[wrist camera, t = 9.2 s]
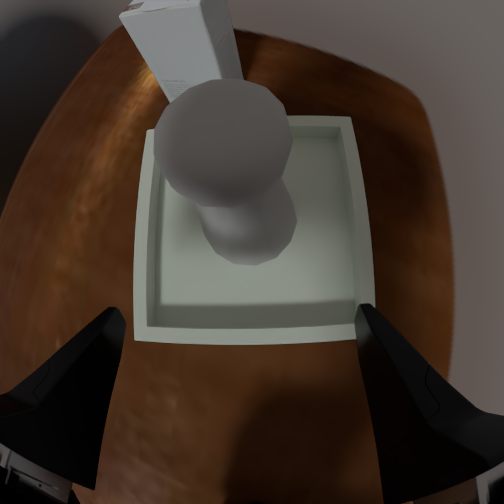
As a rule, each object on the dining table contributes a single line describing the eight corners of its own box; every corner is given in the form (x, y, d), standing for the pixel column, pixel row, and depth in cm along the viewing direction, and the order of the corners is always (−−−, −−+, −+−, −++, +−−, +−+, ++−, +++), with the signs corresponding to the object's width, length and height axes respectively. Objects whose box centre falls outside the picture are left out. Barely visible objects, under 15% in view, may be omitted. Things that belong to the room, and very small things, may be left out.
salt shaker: (275, 178, 20) (273, 35, 8) (306, 250, 19) (361, 166, 7) (200, 207, 20) (112, 95, 8) (226, 281, 19) (142, 249, 7)
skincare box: (245, 82, 23) (228, -26, 11) (232, 117, 23) (203, 3, 11) (185, 78, 24) (147, -16, 12) (168, 111, 23) (115, 15, 11)
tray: (364, 332, 19) (375, 336, 17) (148, 336, 20) (134, 340, 18) (344, 132, 22) (350, 117, 19) (157, 144, 23) (147, 130, 20)
